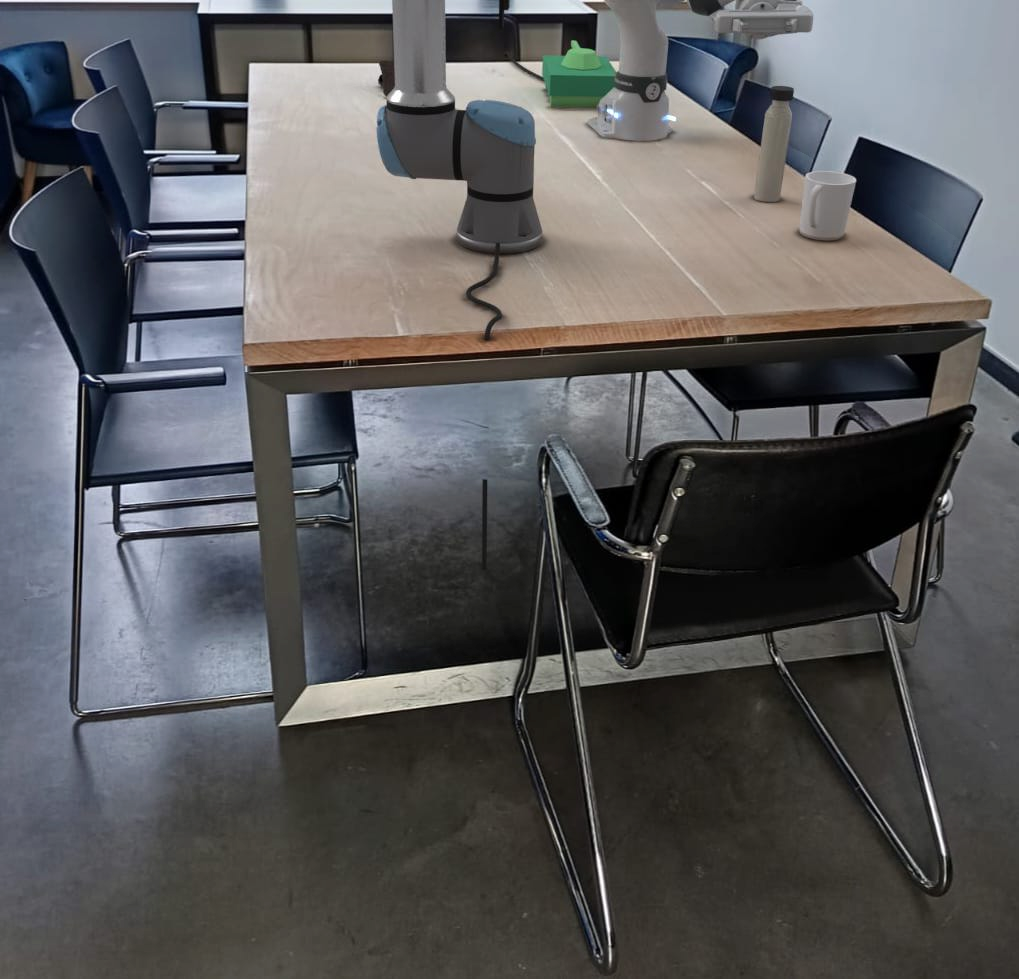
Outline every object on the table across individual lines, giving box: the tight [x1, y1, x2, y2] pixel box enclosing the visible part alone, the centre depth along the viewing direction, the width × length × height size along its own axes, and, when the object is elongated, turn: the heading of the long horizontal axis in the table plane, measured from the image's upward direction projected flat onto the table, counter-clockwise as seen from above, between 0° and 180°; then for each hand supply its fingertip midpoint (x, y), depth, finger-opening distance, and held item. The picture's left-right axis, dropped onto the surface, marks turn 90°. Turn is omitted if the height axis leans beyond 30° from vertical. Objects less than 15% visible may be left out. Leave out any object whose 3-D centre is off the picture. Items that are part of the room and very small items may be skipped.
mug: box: [798, 170, 857, 241], centre depth 199 cm, size 11×9×10 cm
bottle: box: [753, 100, 793, 203], centre depth 216 cm, size 5×5×21 cm
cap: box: [769, 85, 795, 102], centre depth 211 cm, size 4×4×2 cm
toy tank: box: [541, 40, 617, 108], centre depth 296 cm, size 18×12×35 cm
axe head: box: [377, 59, 395, 97], centre depth 299 cm, size 18×8×15 cm
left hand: (468, 26), depth 224 cm, fingers open, 13 cm apart
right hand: (766, 28), depth 224 cm, fingers open, 8 cm apart
